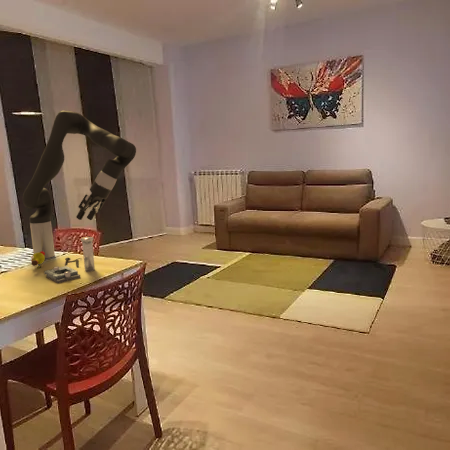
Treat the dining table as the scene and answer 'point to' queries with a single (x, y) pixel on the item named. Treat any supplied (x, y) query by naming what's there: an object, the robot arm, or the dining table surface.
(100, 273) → the dining table surface
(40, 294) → the dining table surface
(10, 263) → the dining table surface
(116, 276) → the dining table surface
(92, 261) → the steel pin
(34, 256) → the toy figure
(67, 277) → the chain end lower
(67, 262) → the hacksaw
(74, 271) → the chain end upper
